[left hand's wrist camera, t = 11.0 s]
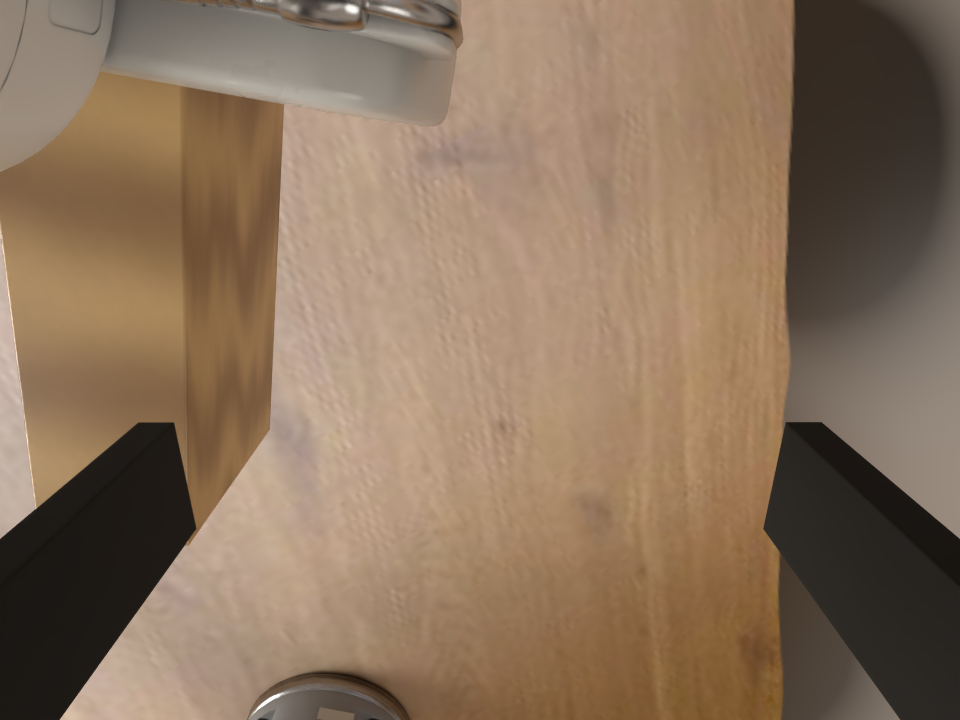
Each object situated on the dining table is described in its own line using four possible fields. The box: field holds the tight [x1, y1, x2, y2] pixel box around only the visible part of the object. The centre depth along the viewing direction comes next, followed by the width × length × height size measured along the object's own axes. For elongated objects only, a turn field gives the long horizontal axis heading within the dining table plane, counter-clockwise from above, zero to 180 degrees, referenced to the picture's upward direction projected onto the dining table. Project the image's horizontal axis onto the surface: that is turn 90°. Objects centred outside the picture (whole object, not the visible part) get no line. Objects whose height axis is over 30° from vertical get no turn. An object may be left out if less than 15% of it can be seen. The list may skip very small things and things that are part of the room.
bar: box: [0, 72, 284, 546], centre depth 22 cm, size 21×6×9 cm, turn 170°
